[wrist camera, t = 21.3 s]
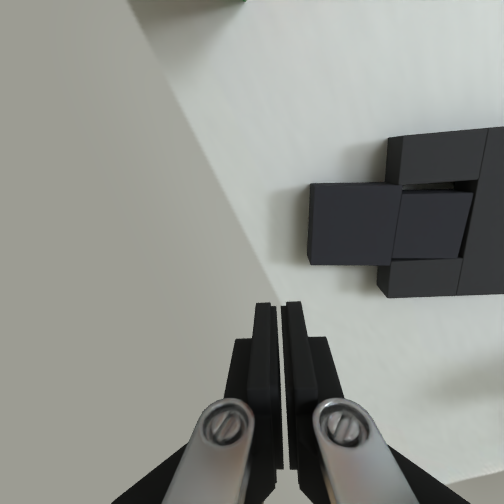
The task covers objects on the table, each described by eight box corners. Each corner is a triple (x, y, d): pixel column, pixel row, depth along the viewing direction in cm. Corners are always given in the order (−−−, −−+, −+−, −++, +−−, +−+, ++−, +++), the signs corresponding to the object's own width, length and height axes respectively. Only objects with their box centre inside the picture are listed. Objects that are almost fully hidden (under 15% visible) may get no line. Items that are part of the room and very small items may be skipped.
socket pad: (376, 284, 28) (387, 298, 25) (388, 137, 23) (402, 135, 20) (502, 279, 26) (527, 293, 24) (541, 123, 22) (579, 119, 19)
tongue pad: (306, 254, 27) (310, 265, 24) (310, 183, 25) (314, 186, 22) (437, 255, 26) (455, 266, 23) (453, 180, 24) (476, 184, 21)
